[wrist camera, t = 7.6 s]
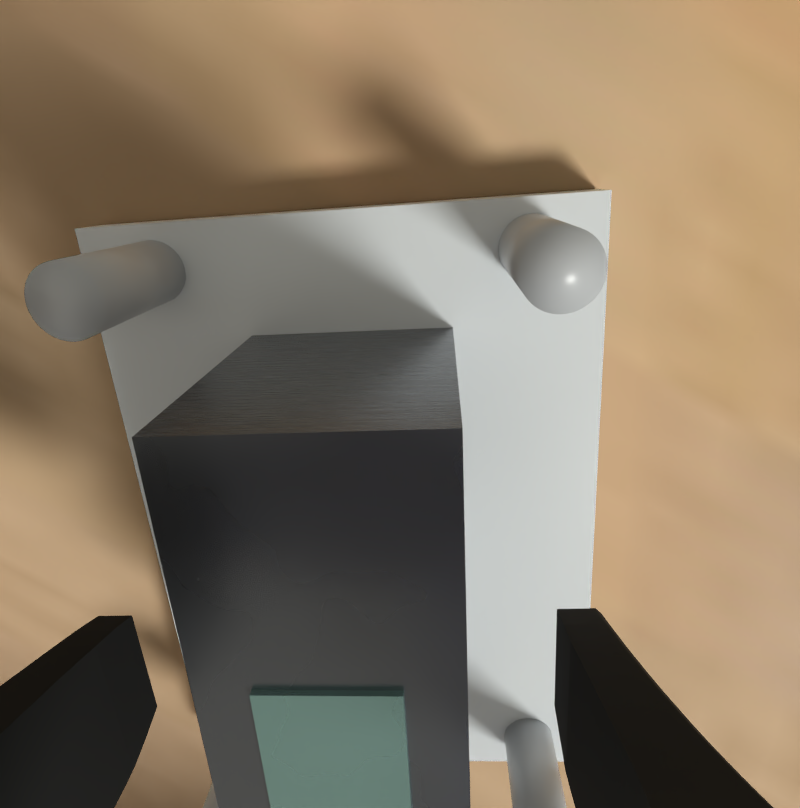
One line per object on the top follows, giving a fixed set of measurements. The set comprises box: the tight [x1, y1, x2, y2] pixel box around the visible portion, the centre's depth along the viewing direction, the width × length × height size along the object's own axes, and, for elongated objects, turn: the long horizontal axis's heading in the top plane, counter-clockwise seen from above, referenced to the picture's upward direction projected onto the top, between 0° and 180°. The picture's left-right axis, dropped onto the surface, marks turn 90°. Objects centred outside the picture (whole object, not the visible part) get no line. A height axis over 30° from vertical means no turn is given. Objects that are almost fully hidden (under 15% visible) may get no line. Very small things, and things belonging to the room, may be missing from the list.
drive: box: [132, 327, 470, 808], centre depth 11 cm, size 9×4×5 cm, turn 3°
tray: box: [24, 189, 612, 808], centre depth 12 cm, size 14×10×4 cm
